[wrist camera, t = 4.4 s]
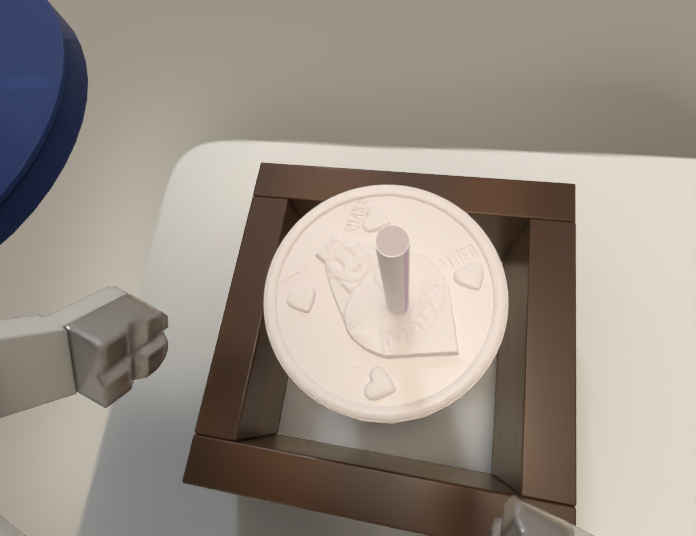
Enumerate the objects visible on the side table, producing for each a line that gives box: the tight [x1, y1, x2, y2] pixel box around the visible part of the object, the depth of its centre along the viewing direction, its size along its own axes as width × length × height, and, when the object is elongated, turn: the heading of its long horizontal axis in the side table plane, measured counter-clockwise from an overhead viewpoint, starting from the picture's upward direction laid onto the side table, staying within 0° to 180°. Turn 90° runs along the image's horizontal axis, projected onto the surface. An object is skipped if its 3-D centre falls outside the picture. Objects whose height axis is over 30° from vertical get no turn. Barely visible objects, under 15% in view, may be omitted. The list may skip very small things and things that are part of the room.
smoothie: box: [264, 185, 508, 424], centre depth 13 cm, size 6×6×14 cm
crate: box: [182, 163, 576, 536], centre depth 18 cm, size 13×13×5 cm
